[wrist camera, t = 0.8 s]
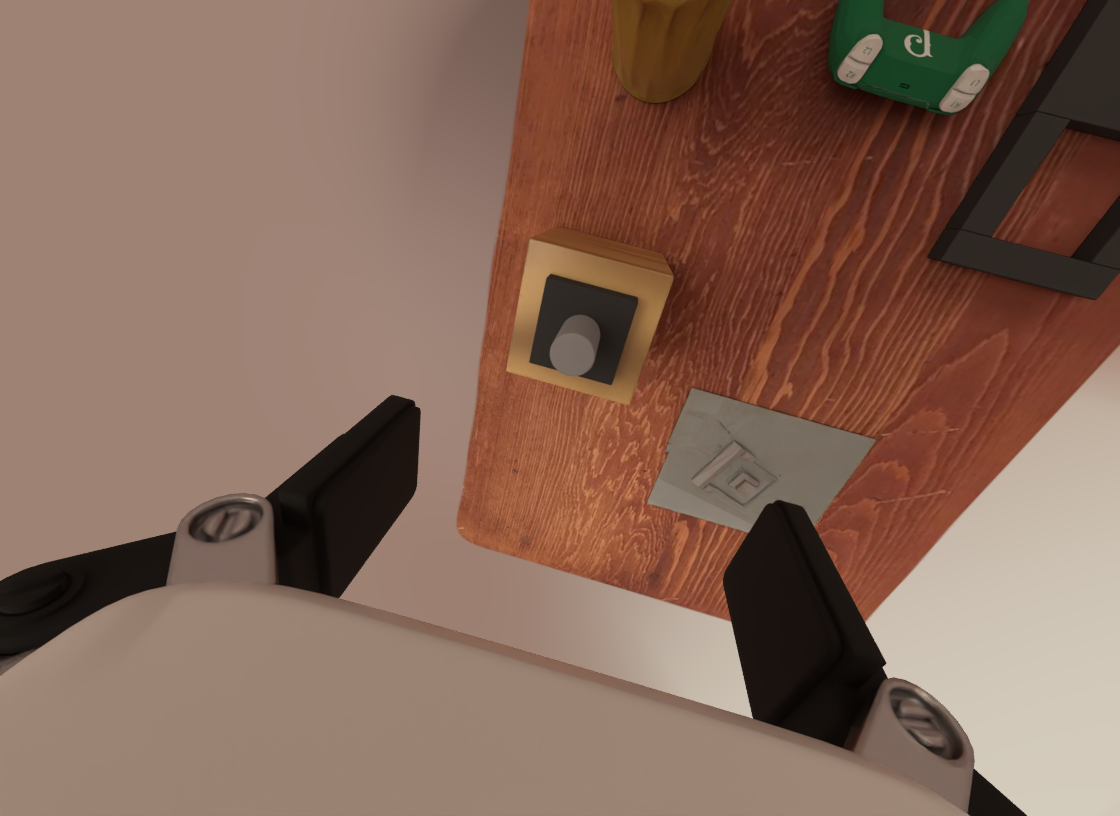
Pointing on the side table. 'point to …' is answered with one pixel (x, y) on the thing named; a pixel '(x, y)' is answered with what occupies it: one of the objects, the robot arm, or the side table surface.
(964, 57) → the gaming controller
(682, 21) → the vase
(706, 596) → the side table surface
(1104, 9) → the base pad
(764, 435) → the grey flat square slab
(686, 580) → the side table surface
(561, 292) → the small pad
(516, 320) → the stand
